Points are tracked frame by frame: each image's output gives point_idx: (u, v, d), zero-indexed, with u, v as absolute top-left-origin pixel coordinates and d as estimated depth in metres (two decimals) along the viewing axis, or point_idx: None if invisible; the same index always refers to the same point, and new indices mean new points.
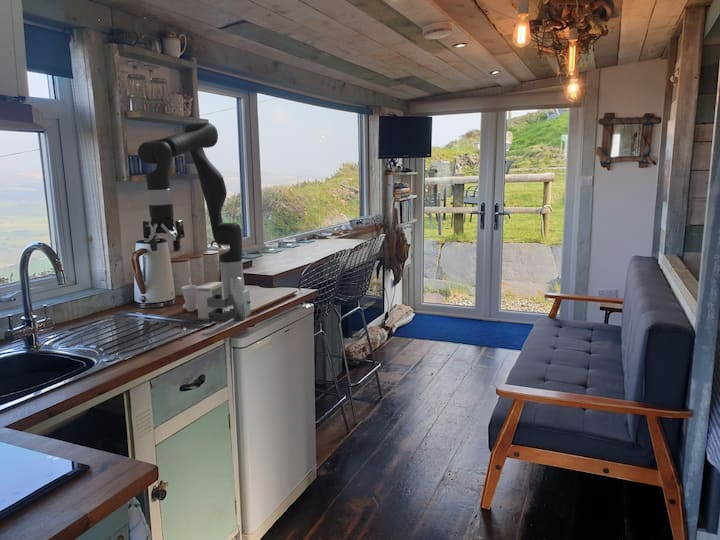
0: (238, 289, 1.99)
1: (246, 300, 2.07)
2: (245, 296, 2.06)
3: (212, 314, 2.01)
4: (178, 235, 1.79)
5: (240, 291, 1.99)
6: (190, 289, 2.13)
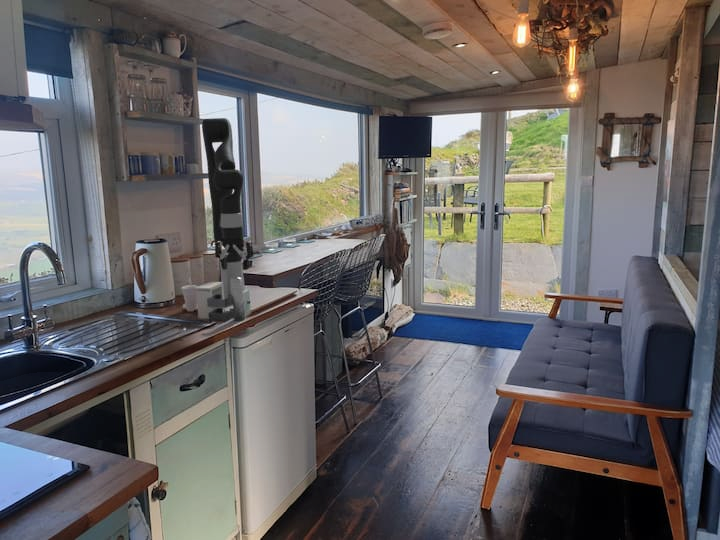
0: (238, 289, 1.99)
1: (246, 300, 2.07)
2: (245, 296, 2.06)
3: (212, 314, 2.01)
4: (248, 255, 1.95)
5: (240, 291, 1.99)
6: (190, 289, 2.13)
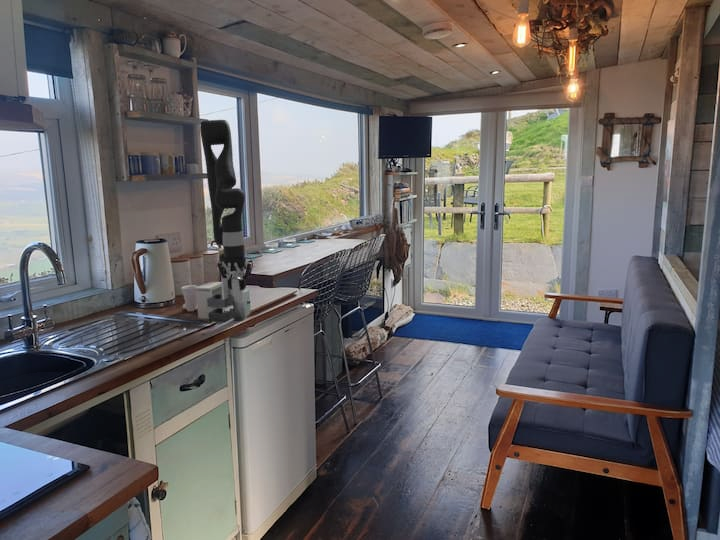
0: (237, 289, 1.99)
1: (246, 300, 2.07)
2: (245, 296, 2.06)
3: (212, 314, 2.01)
4: (245, 275, 1.97)
5: (240, 291, 1.99)
6: (190, 289, 2.13)
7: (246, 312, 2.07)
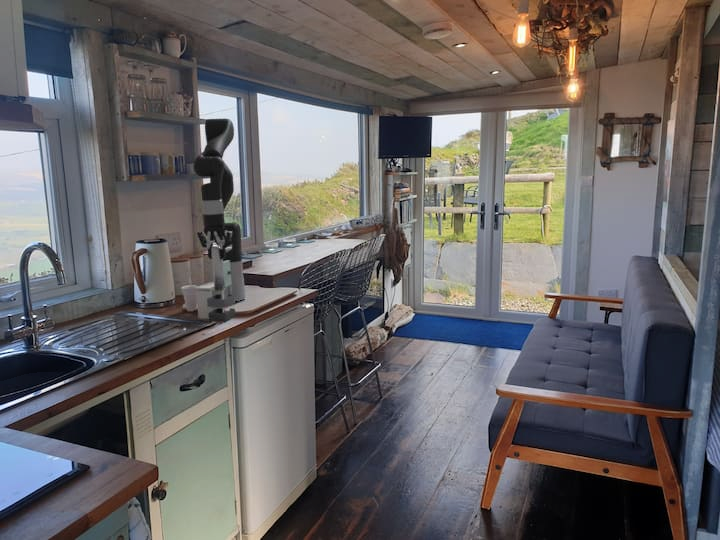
0: (217, 258, 1.98)
1: (227, 270, 2.06)
2: (226, 267, 2.06)
3: (212, 314, 2.01)
4: (225, 244, 1.97)
5: (220, 261, 1.99)
6: (190, 289, 2.13)
7: (227, 282, 2.07)
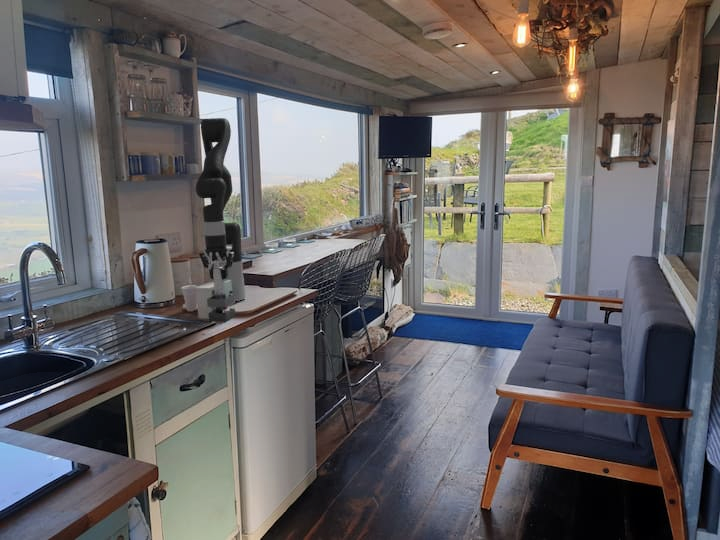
0: (219, 278, 2.00)
1: (228, 290, 2.08)
2: (228, 286, 2.07)
3: (212, 314, 2.01)
4: (226, 265, 1.98)
5: (221, 281, 2.00)
6: (190, 289, 2.13)
7: None
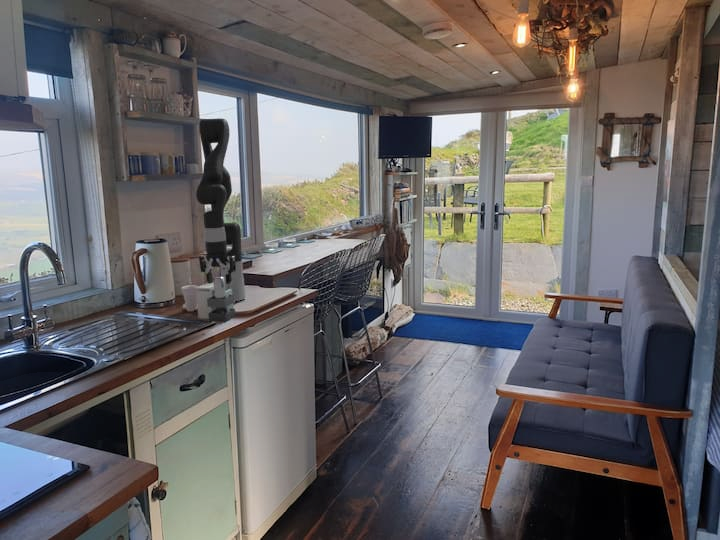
0: (220, 288, 2.00)
1: None
2: (228, 296, 2.08)
3: (212, 314, 2.01)
4: (230, 269, 1.98)
5: (222, 291, 2.01)
6: (190, 289, 2.13)
7: None
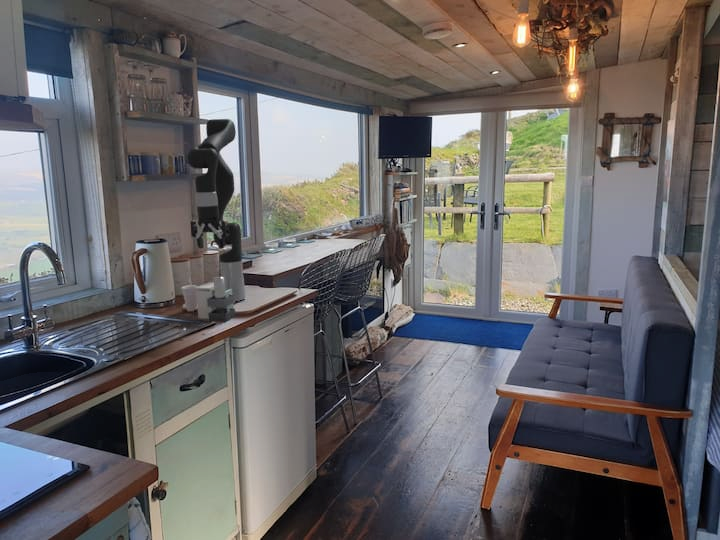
0: (220, 288, 2.00)
1: None
2: (228, 296, 2.08)
3: (212, 314, 2.01)
4: (224, 234, 1.96)
5: (222, 291, 2.01)
6: (190, 289, 2.13)
7: None
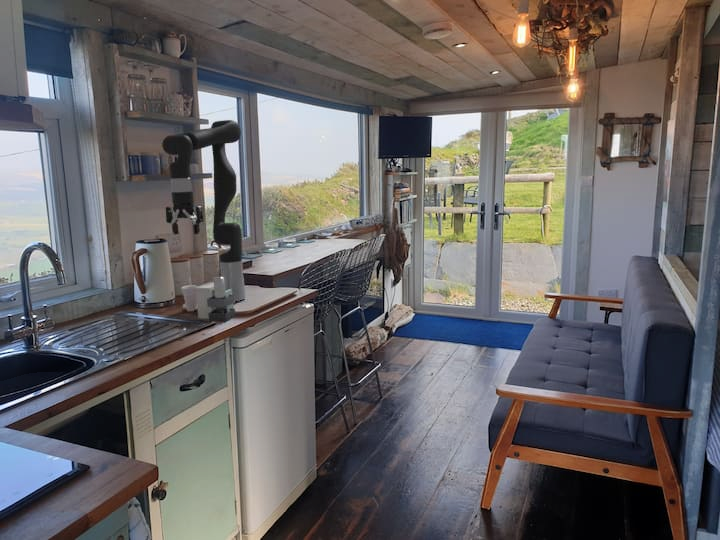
0: (220, 288, 2.00)
1: None
2: (228, 296, 2.08)
3: (212, 314, 2.01)
4: (198, 219, 1.99)
5: (222, 291, 2.01)
6: (190, 289, 2.13)
7: None
